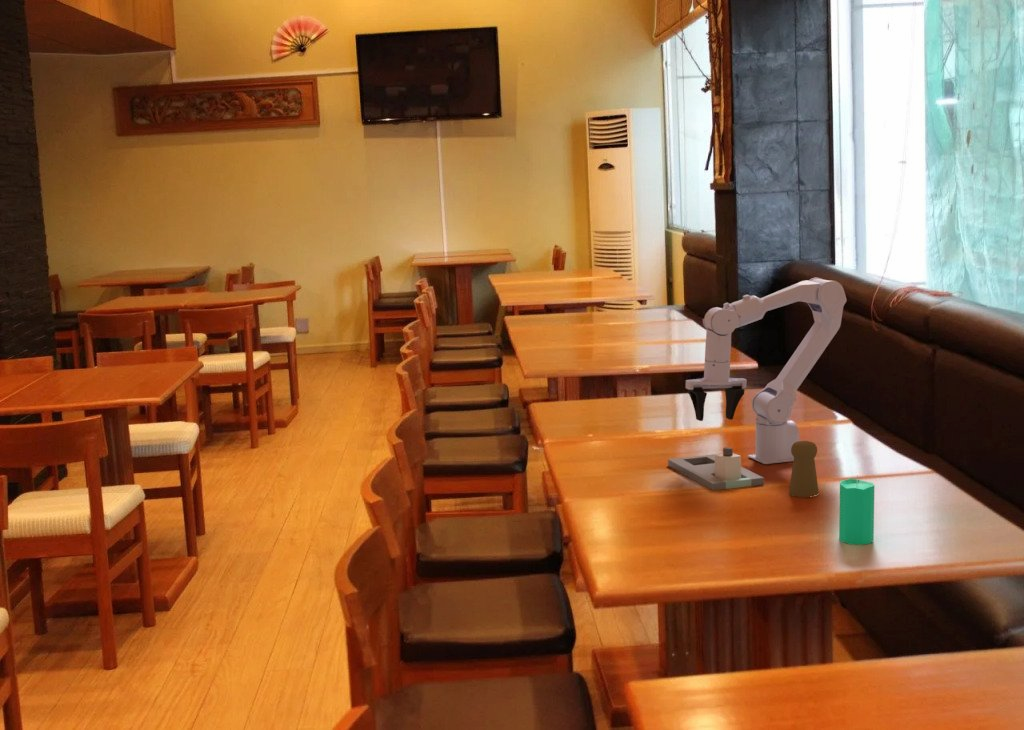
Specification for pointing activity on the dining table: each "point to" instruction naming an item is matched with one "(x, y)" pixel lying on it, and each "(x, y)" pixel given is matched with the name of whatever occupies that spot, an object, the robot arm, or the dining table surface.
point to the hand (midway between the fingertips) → (714, 419)
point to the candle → (856, 512)
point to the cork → (803, 470)
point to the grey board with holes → (712, 473)
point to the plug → (727, 465)
